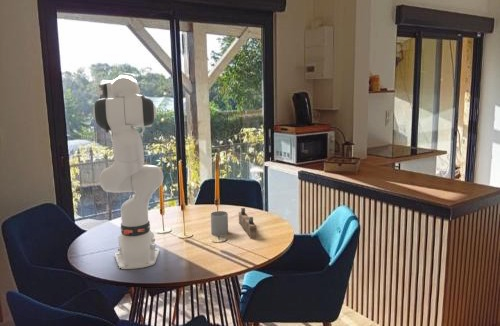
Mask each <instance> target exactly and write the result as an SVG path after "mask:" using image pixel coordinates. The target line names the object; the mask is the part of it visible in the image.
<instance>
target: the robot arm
mask: <svg viewBox="0 0 500 326" xmlns="http://www.w3.org/2000/svg"><path fill="white" fill-rule="evenodd" d="M96 93H97V96H98V98H99V99H97V100H96V101H95V102H94V105H93V108H92V115H93V118H94V121H95V124H96V125H98V126H99V128H100V129H103V130H105V133H107V134H109V131H110V132H112V152H113V160H114V161H113V163H112V164H110V166H108V167H106V168H103V170H102V171H101V172H100V174H99V178H98V182H99V186H100V188H102V190H103V191H104V192H105V193H113V194H115V193H117V194H119V193H129V192H130V193H132V192H134V195H133V196H132V197H130V198H129V199H127V200H125V201H124V202H123V203H122V204H121V206H120V216H121V217H120V220H121V223H120V233H121V234H120V235H119V236H118V249H117V251H118V252H115V253H114V258H115V261H116V264H117V266H119V267H118V269H120V268H121V270H134V269H142V268H148V267H150V266H154V265H155V263H156V262H157V259H158V257H159V254H160V253H161V251H160V250H161V249H160V248H157V247H156V243H155V241H156V239H155V233H154V232H153V231H151V222H150V220H149V203H150V200H151V197H152V196H153V194H154V193H155V192H156V191H157V190H158V189H159V188H160V187H161V186H162V185H163V183H164V173H163V170H162V168H160V166H158V165H154V164H148V163H147V164H144V162H145V154H144V153H145V152H144V144H143V139H142V138H143V137H144V133H145V130H146V128H151V127H153V124H154V123H155V120H156V117H157V108H156V106H155V103H154V101H153V100H152V99H151V98H150V97H147V96H145V94H144V93H142V94H141V84H140V83H139V82H138V81H137V78H136V75H135V74H133V73H129V72H127V73H126V72H125V73H121V74H119V75H118V77H116V78H115V79H113V80H108V79H102V80H101V81H100V82H99V83H98V85H97V92H96ZM136 128H141V130H142V131H141V132H139V131H138V129H136Z"/></svg>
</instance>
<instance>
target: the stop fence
mask: <svg viewBox="0 0 500 326" xmlns="http://www.w3.org/2000/svg"><path fill="white" fill-rule="evenodd" d="M238 224H239V225H240V227H241V228H242V229H243V231H244V232H245V233H246V235H247V236H248V237H249V239H257V224H255V223H254V217H253V216H249V215H248V214H247V213H246V207H245V208H244V207H241V208H240V211H238Z"/></svg>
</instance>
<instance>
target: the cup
mask: <svg viewBox="0 0 500 326" xmlns="http://www.w3.org/2000/svg"><path fill="white" fill-rule="evenodd" d="M228 213H229V212H227V211H223V210H217V211H212V212H210V231H211V232H210V235H212V236H215V237H223V236H227V235H228V234H229V219H228V217H229V215H228Z"/></svg>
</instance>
